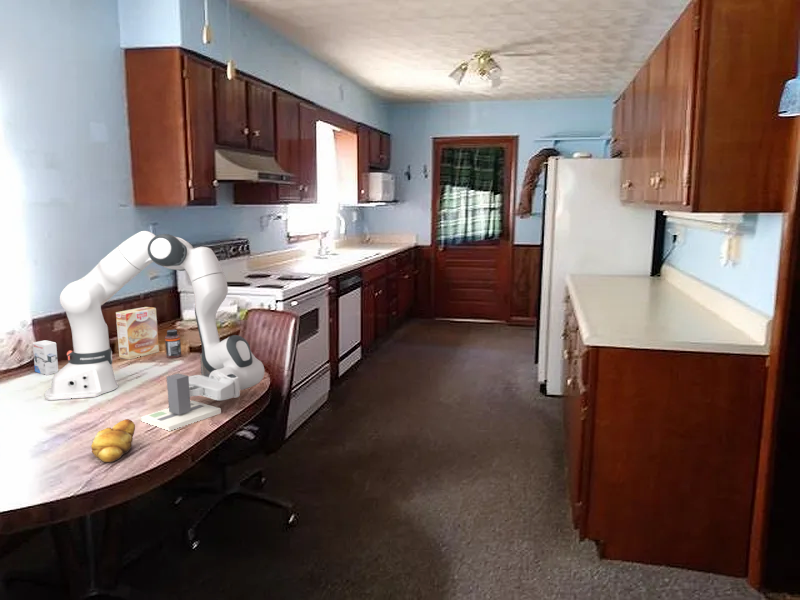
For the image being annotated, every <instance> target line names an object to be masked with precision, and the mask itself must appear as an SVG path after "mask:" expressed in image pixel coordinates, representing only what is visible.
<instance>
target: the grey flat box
mask: <svg viewBox="0 0 800 600" xmlns="http://www.w3.org/2000/svg"><path fill="white" fill-rule="evenodd" d="M199 357H200V359H199V360H200V372H201V375H202V376H206V377H209V375H210V373H211V372H209V371H208V370H207V369H206V368H205V366H204V365H203V362H202V353H200V354H199Z"/></svg>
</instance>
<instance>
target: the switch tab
mask: <svg viewBox="0 0 800 600" xmlns="http://www.w3.org/2000/svg"><path fill="white" fill-rule="evenodd" d="M166 388H167V401H168V408H169V412H171V413H175V414H178V415H181V414H184V413H187V412H190V411H191V406H190V401H191V397H190V391H189V375H186V374H183V373H178V372H177V373H176V374H175V373H174V374H170V375H167V376H166Z"/></svg>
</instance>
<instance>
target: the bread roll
mask: <svg viewBox="0 0 800 600" xmlns="http://www.w3.org/2000/svg"><path fill="white" fill-rule="evenodd" d="M135 431H136V424H135V422H134V421H132V419H130V418H127V419H126V418H125V419H122V420H120V421H119V422H117V423H116V424H114V425H113V426H112V427H105V428H104V429H101V430H99V431H98V432H97V433H96V435H95V436H94V438H93V441H92V443H91V446H90V448H91V452H92V454H93V455H94V456H95V457H96V458H97V459H99V460H100V461H102V462H104V463H111V462H115V461H117V460H119V459H120V458H121V457H122V456H123V455H125V454H126V453H128V452H130V450H131V448H132V443H133V438H134V434H135Z"/></svg>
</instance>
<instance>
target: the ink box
mask: <svg viewBox="0 0 800 600" xmlns="http://www.w3.org/2000/svg"><path fill="white" fill-rule="evenodd" d="M57 350H58V349H57V343H56V342H55V341H51V340H46V339H45V340H39V341H35V342H34V341H33V342H32V352H33V361H34V372H35V373H39V374H40V375H44V374H45V376H49V375H53V373H54V374H56V373H57V372H58V371H59V362H58V351H57Z"/></svg>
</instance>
